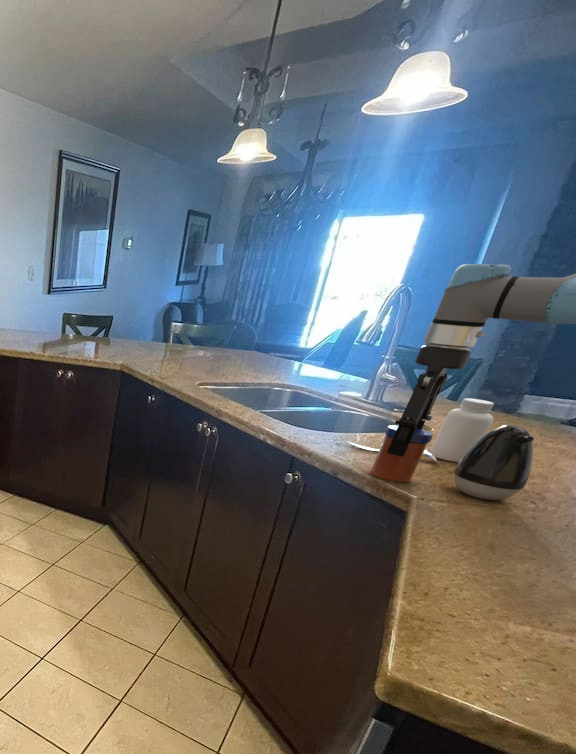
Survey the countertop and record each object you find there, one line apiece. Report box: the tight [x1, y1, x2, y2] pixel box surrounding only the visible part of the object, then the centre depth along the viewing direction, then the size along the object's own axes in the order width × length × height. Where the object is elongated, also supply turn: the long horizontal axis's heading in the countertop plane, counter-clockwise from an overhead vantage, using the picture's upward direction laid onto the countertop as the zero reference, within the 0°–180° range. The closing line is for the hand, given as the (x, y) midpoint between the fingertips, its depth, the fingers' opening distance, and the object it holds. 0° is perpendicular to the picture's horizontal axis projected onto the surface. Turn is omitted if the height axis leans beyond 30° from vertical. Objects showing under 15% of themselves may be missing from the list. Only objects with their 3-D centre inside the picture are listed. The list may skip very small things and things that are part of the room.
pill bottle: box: [430, 397, 495, 464], centre depth 121 cm, size 8×8×15 cm
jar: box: [369, 435, 429, 483], centre depth 109 cm, size 7×7×10 cm
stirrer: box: [339, 435, 438, 464], centre depth 126 cm, size 20×4×5 cm
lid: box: [384, 424, 434, 444], centre depth 107 cm, size 8×7×2 cm
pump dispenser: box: [453, 424, 535, 501], centre depth 99 cm, size 10×10×15 cm
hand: (400, 450), depth 108 cm, fingers open, 9 cm apart
